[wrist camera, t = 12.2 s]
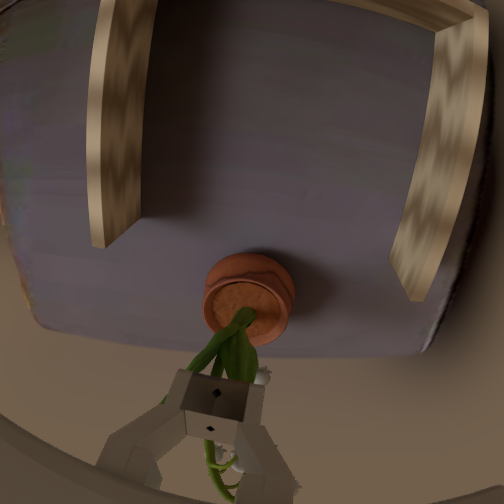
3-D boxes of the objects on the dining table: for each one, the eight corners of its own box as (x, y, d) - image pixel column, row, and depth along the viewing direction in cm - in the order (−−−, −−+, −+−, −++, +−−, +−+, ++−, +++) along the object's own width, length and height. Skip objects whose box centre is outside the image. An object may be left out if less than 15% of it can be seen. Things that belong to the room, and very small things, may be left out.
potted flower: (326, 277, 34) (349, 507, 12) (283, 336, 39) (265, 532, 16) (229, 230, 33) (130, 453, 11) (196, 297, 37) (115, 489, 15)
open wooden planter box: (148, -17, 21) (111, -41, 14) (448, 26, 20) (488, 11, 12) (129, 216, 34) (92, 246, 26) (400, 261, 32) (423, 302, 25)
